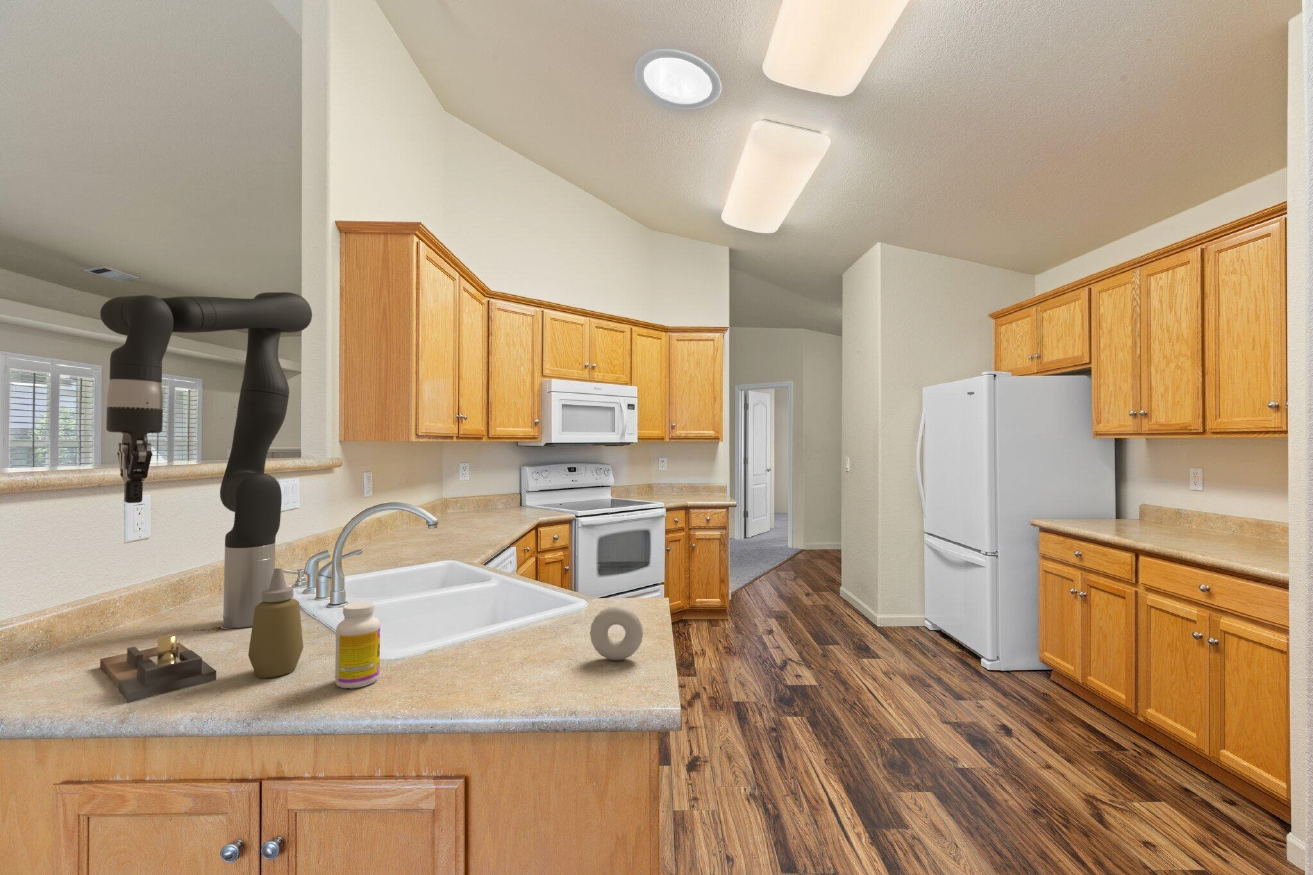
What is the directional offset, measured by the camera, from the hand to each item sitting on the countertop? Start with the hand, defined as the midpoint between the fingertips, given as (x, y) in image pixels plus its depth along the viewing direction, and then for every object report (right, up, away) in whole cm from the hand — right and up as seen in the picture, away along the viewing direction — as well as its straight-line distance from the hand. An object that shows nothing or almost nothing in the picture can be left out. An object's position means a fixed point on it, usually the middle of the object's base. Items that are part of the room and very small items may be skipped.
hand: (133, 502), depth 103 cm
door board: (+8, -29, -4) cm, 30 cm away
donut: (+87, -30, +4) cm, 92 cm away
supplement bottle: (+44, -30, -7) cm, 53 cm away
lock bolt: (+13, -27, -8) cm, 31 cm away
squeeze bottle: (+28, -30, -3) cm, 41 cm away
